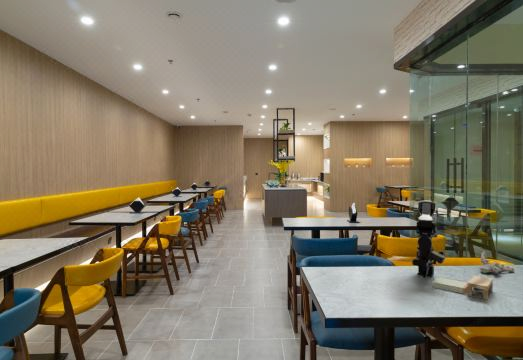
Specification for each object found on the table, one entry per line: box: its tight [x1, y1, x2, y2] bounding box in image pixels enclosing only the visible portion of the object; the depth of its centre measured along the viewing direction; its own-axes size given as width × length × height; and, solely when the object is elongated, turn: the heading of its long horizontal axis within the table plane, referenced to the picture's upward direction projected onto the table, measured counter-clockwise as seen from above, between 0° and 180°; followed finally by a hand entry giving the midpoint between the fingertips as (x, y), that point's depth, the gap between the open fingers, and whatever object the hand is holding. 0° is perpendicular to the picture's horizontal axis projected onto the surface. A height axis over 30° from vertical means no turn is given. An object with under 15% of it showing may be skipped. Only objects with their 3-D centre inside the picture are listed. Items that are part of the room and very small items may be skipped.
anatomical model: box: [479, 251, 515, 274], centre depth 180 cm, size 19×8×20 cm
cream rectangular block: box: [432, 277, 468, 295], centre depth 150 cm, size 13×10×2 cm
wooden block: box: [466, 275, 494, 301], centre depth 142 cm, size 7×15×6 cm, turn 138°
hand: (424, 277), depth 157 cm, fingers closed
